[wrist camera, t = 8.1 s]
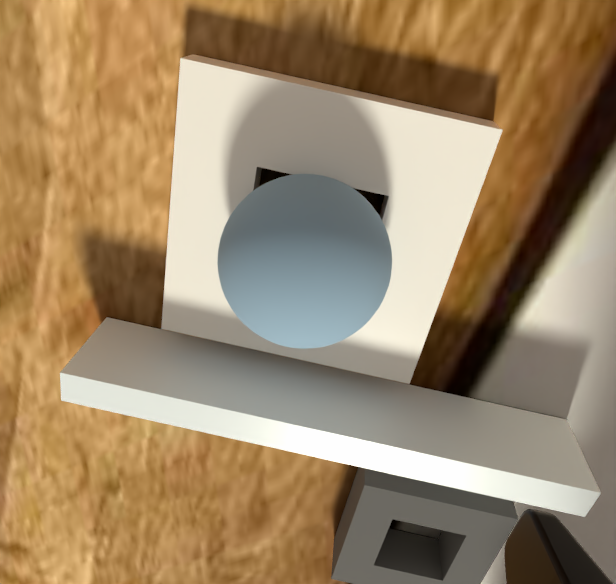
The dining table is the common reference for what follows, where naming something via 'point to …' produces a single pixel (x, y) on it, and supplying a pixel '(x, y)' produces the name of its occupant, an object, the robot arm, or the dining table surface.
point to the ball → (304, 261)
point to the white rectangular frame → (331, 163)
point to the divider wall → (331, 415)
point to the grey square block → (411, 547)
